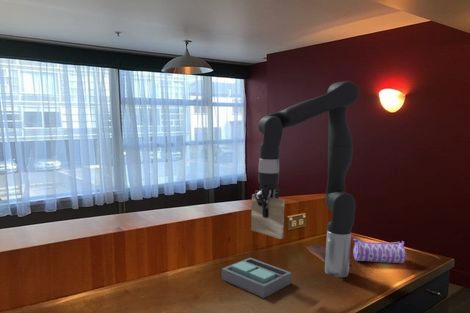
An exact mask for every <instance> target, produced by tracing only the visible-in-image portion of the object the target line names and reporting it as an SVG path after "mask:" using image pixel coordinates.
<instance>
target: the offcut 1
mask: <svg viewBox="0 0 470 313" xmlns="http://www.w3.org/2000/svg"><path fill="white" fill-rule="evenodd" d="M241 261H242V260H241ZM239 262H240V261H239ZM236 263H237V262H236ZM234 264H235V263H234ZM231 265H232V264H231ZM254 270H256V266H253V265H251V264H248V263H245V262H243V261H242V262H240V263H237V264H235V265H232V269H231V271H233V272H235V273H238V274H240V275H243V276H245V277H247V278H249V273H250V272H252V271H254Z"/></svg>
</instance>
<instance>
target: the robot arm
mask: <svg viewBox="0 0 470 313" xmlns="http://www.w3.org/2000/svg"><path fill="white" fill-rule="evenodd" d="M359 96H360V90H359V87H358V85H357V84H356V83H355V82H353V81H350V80H349V81H348V80H347V81H346V80H345V81H338V82H335V83H332V84H331V85H330V86H329V87H328V89H327V92H326V93H324V94H323V95H320V96H317V97H312V98H310V99H307V100H304V101H301V102H297V103H296V104H293V105H291V106H289V107H287V108H285V109H283V110H280V111H277V112H274V113H270V114H267V115H265V116H263V117H262V118H261V119H260V120H259V121H258V124H257V127H258V131H259V132H260V133H261V134H262V135H263V140H262V143H260V147H259V161H258V172H257V173H258V174H257V176H258V177H257V180H258V181H257V183H258V184H259V188H258V189H259V190H258V192H257V193H256V192H255V193H254V194H255V195H254V196H255V198H256V200H257V203H258V205H259V206H261V207H262V208H263V212H262V215H263V217H264V218H268V209H269V202H270V198H276V199H280V195H281V192H282V190H281V189H278V187H277V185H279V182H280V180H279V179H280V144H281V141H282V136H283V130H284V129H285V128H291V127H292V128H293V127H296V126H298V125H299V124H302V123H304V122H306V121H308V120H310V119H312V118H315V117H317V116H320V115H321V114H324V113H327V114H328V140H327V142H328V143H327V182H326V191H325V206H326V207H327V209H328V210H329V211H331V212H332V216H331V221H329V222H327V225H326V242H325V244H326V245H325V248H326V257H325V263H324V272H325V274H327V275H330V276H332V277H336V278H341V279H343V278H346V277H348V276H349V273H350V266H349V264H350V261H351V260H350V257H351V243H352V242H351V240H352V228H353V227H354V224H355V217H356V199H355V198H354V196H353V195H352V194H350V193H348V192H346V176H347V172H348V171H349V169H350V166H351V164H352V160H353V152H354V149H353V148H354V145H353V144H354V143H353V137H352V136H353V135H352V133H351V131H350V128H349V124H348V121H347V107H348V106H351V105H353V104H355V103H356V101H357V100H358V99H359ZM264 198H265V199H264ZM265 202H266V204H265Z"/></svg>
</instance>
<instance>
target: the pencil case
mask: <svg viewBox="0 0 470 313" xmlns="http://www.w3.org/2000/svg"><path fill="white" fill-rule="evenodd" d="M353 241H354V243H353V248H352V251H353V253H352V254H353V257H354V260H355V261H357V262H358V261H359V262H370V263H372V262H374V263H386V264H387V263H388V264H389V263H390V264H404V263H405V261H406V257H407V253H406V249H405V248H406V247H405V246H404V245H405V241H403V240H401V242H400V241H395V242H371V241H370V242H369V241H363V240H360V239H356V238H353Z"/></svg>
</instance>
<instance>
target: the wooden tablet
mask: <svg viewBox="0 0 470 313" xmlns="http://www.w3.org/2000/svg"><path fill="white" fill-rule="evenodd" d="M312 245H313V244H312ZM312 245H309V246H310V247H307V246H306V247H307V249H308V250H309V251H308V250H307V249H306V250H307V251H308V252H309V253H311V254H312V255H314V256H315V257H317V258H318V259H319V260H320V261H322V263H324V264H325V257H326V247H324V246H323V245H320V244H314V245H313V246H312ZM350 266H351V263H349V267H350Z"/></svg>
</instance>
